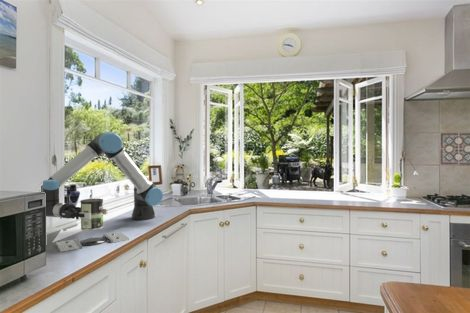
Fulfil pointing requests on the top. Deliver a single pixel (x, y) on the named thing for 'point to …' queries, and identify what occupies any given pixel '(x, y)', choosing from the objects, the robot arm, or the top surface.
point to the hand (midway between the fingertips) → (98, 213)
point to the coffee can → (92, 214)
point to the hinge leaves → (90, 241)
